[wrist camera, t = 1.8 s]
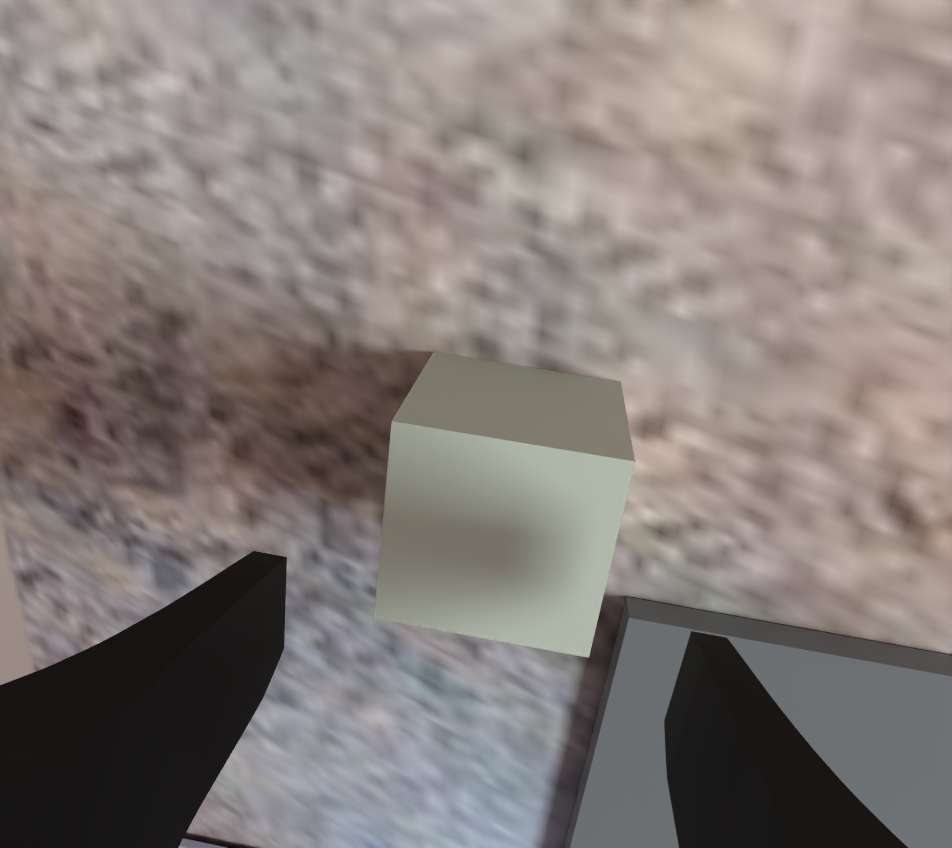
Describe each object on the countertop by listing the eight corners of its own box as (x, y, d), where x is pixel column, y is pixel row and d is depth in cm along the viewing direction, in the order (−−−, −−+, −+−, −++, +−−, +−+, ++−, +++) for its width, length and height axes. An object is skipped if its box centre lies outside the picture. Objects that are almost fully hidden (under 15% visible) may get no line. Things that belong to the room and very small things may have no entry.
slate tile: (557, 871, 26) (557, 898, 26) (626, 596, 22) (628, 617, 21) (899, 942, 26) (912, 972, 25) (1048, 672, 21) (1069, 697, 20)
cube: (416, 512, 22) (374, 618, 17) (434, 350, 20) (391, 421, 15) (585, 542, 21) (589, 657, 17) (620, 380, 19) (634, 461, 15)
